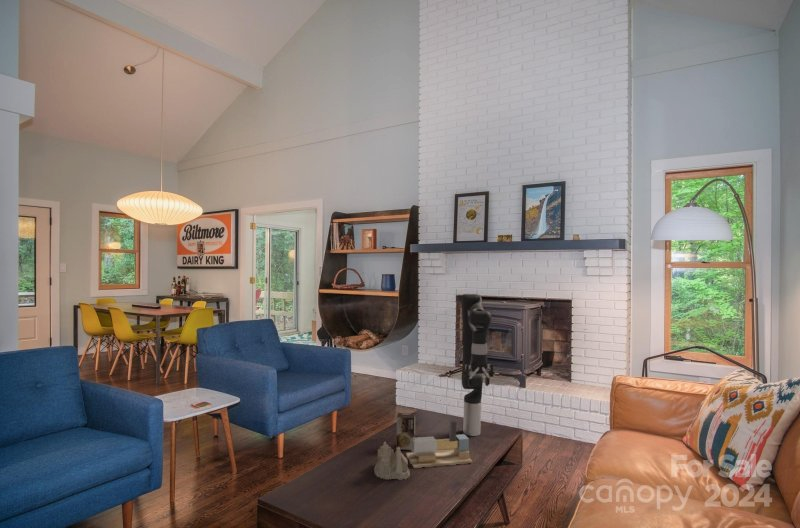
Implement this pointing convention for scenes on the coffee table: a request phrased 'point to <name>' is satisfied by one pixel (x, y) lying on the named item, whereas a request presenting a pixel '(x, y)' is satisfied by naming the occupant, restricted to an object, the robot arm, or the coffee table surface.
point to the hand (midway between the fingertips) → (478, 385)
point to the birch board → (439, 459)
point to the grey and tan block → (424, 449)
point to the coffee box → (405, 430)
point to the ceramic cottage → (391, 464)
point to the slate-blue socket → (462, 447)
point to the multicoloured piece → (452, 440)
